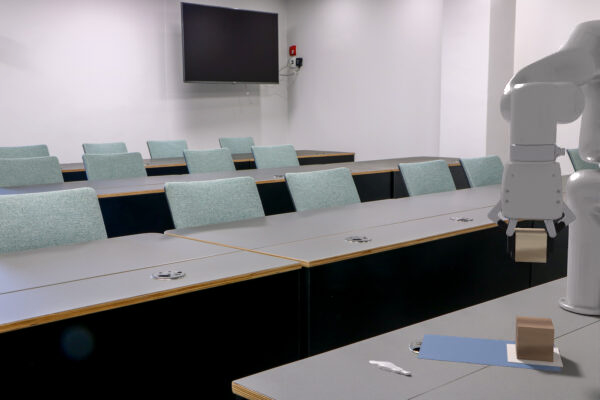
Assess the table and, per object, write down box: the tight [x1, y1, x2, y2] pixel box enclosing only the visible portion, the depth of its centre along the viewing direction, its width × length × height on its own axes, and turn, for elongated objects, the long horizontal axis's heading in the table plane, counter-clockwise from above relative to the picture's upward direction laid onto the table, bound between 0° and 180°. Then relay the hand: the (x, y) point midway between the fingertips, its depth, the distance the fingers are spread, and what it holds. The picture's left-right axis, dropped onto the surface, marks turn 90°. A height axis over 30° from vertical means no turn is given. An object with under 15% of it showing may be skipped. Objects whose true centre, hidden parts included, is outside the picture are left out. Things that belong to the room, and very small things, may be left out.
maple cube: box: [514, 227, 547, 263], centre depth 111 cm, size 5×5×5 cm
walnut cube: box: [515, 315, 555, 362], centre depth 113 cm, size 6×6×6 cm
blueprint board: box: [417, 333, 564, 372], centre depth 115 cm, size 24×13×1 cm, turn 73°
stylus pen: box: [369, 360, 412, 376], centre depth 111 cm, size 15×3×2 cm, turn 41°
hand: (529, 256), depth 111 cm, fingers closed on maple cube, 4 cm apart
